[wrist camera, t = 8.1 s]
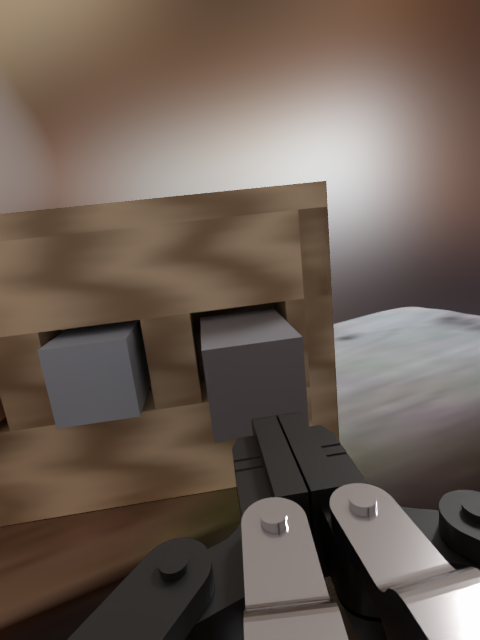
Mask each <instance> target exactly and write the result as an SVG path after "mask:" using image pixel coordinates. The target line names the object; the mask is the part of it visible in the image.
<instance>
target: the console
mask: <svg viewBox="0 0 480 640" xmlns="http://www.w3.org/2000/svg"><path fill="white" fill-rule="evenodd" d="M326 191H327V190H326V181H323V182H313V183H303V184H293V185H284V186H274V187H263V188H253V189H243V190H234V191H224V192H214V193H204V194H194V195H184V196H174V197H164V198H154V199H145V200H135V201H125V202H115V203H105V204H96V205H86V206H75V207H66V208H56V209H46V210H36V211H27V212H16V213H7V214H0V397H1V401H2V404H3V408H4V411H5V415H6V417H5V418H4V419H3V420H1V421H0V526H6V525H12V524H18V523H24V522H30V521H36V520H42V519H48V518H54V517H60V516H66V515H72V514H78V513H84V512H90V511H96V510H102V509H108V508H114V507H120V506H126V505H132V504H138V503H144V502H150V501H156V500H162V499H168V498H174V497H180V496H186V495H192V494H198V493H203V492H209V491H215V490H221V489H227V488H233V487H237V486H236V478H235V470H234V462H233V454H232V448H233V446H234V444H235V442H236V440H231V441H225V442H218V443H214V438H213V431H212V424H211V416H210V409H209V402H208V395H207V387H206V380H205V373H204V365H203V358H202V351H201V324H200V317H207V316H214V315H222V314H230V313H238V312H246V311H253V310H261V309H269V308H274V309H275V310H276V311H277V312H278V313H279V314H280V315H281V316H282V317H283V318H284V319H285V320H286V321H287V322H288V323H289V324H290V325H291V326H292V327H293V328H294V329H295V330H296V331H297V332H298V333H299V334H300V335H301V336H302V337H303V348H304V363H305V377H306V391H307V405H308V419H309V427H310V426H316V425H321V426H323V427H325V428H326V429H328V430H330V431H331V432H333V433H334V435H335V436H336V438H337V439H338V440H339V427H338V407H337V387H336V368H335V348H334V328H333V308H332V288H331V269H330V251H329V250H330V249H329V229H328V210H327V192H326ZM133 320H140V323H141V329H142V334H143V340H144V346H145V352H146V357H147V363H148V369H149V375H150V380H151V384H150V387H149V390H148V394H147V397H146V400H145V403H144V406H143V410H142V413H141V416H140V417H133V418H127V419H120V420H113V421H106V422H100V423H93V424H86V425H79V426H73V427H66V428H59V429H56V425H55V420H54V416H53V412H52V408H51V404H50V400H49V396H48V392H47V388H46V384H45V380H44V375H43V371H42V367H41V363H40V359H39V355H38V351H37V350H38V349H40V348H41V347H43V346H44V345H45V344H47V343H48V342H49V341H51V340H52V339H54V338H55V337H56V336H58V335H59V334H60V333H62V332H63V331H65V330H66V329H70V328H78V327H85V326H93V325H101V324H109V323H117V322H125V321H133Z"/></svg>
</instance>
